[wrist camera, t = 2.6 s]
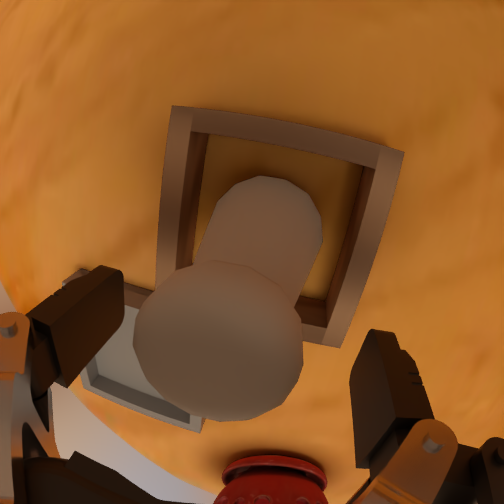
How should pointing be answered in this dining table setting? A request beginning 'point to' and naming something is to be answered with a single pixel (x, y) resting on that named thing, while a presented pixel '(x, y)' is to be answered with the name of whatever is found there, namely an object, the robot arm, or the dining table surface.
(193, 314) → the salt shaker
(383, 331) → the robot arm
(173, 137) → the rectangular frame
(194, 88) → the dining table surface
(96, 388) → the tray
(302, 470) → the plant pot
